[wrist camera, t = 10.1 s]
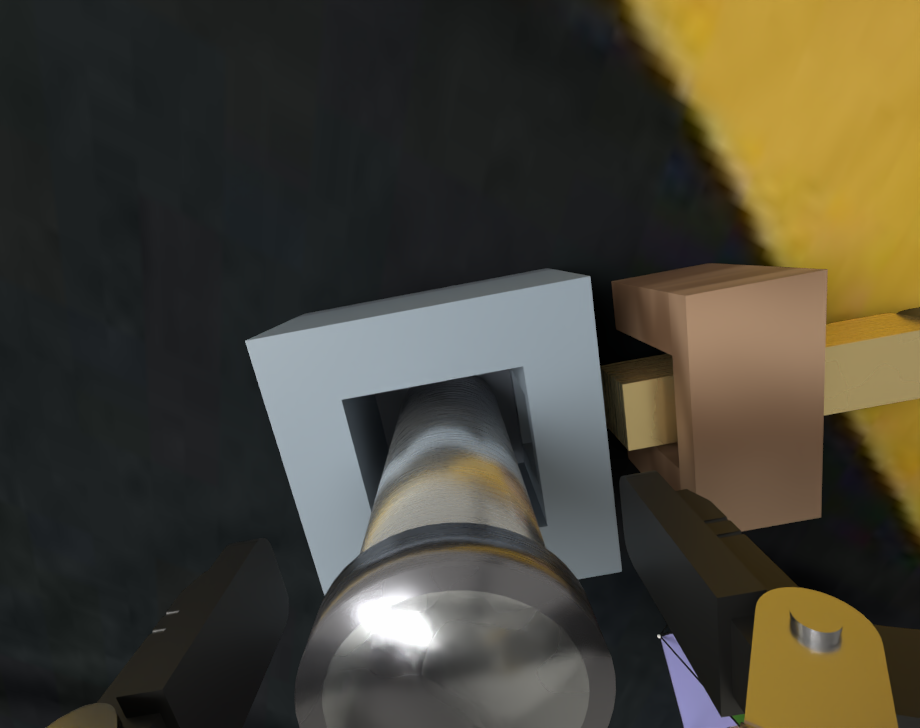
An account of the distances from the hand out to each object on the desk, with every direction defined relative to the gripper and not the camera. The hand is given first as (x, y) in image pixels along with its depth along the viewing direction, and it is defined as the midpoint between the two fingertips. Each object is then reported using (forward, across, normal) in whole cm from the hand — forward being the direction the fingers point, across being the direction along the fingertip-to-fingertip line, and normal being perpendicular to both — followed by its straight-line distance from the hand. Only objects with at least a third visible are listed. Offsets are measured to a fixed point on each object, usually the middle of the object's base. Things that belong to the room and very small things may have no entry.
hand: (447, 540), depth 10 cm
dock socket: (+10, 0, 0) cm, 10 cm away
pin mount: (+10, -10, 0) cm, 13 cm away
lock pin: (+8, -12, 0) cm, 14 cm away
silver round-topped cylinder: (+8, 0, 0) cm, 8 cm away
